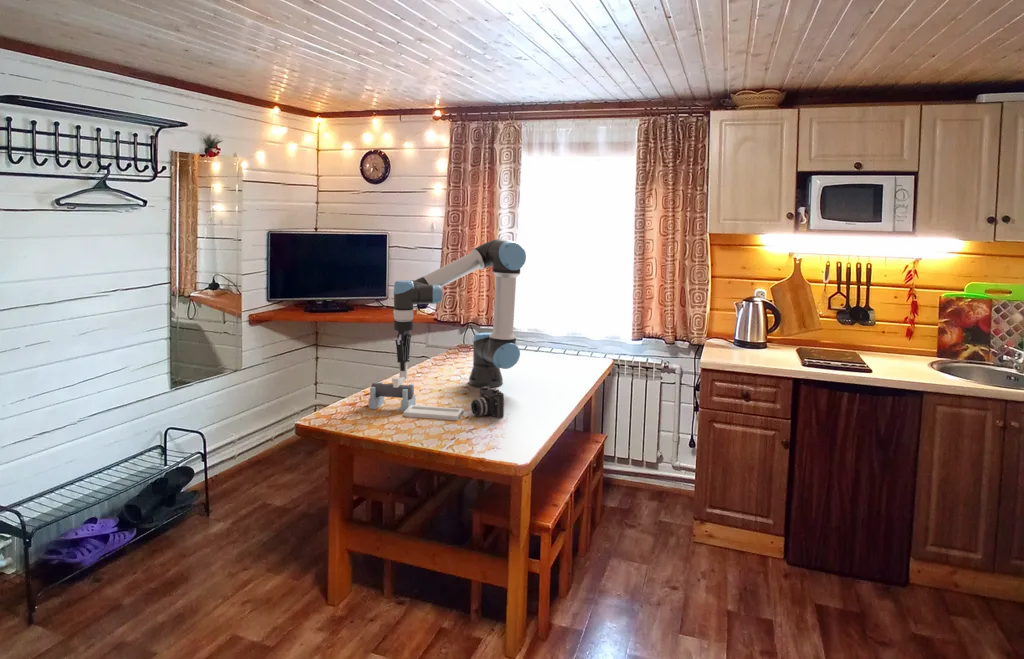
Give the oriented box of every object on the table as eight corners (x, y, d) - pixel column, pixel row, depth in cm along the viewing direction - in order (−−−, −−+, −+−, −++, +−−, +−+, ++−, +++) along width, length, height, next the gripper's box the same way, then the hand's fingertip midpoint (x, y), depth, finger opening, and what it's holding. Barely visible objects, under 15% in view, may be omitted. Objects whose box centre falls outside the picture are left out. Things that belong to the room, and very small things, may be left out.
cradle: (415, 404, 278) (415, 384, 277) (408, 411, 269) (408, 390, 267) (377, 401, 280) (376, 381, 279) (368, 408, 271) (368, 387, 270)
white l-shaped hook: (406, 381, 277) (406, 372, 276) (398, 387, 267) (398, 378, 266) (400, 380, 277) (400, 372, 277) (392, 387, 267) (392, 378, 267)
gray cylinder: (413, 396, 275) (413, 384, 274) (410, 400, 270) (410, 387, 269) (375, 393, 278) (374, 381, 277) (370, 397, 273) (370, 384, 272)
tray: (463, 412, 269) (463, 408, 269) (457, 420, 260) (457, 416, 260) (411, 408, 272) (411, 405, 272) (403, 416, 263) (403, 412, 263)
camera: (463, 411, 272) (464, 386, 270) (487, 407, 277) (488, 383, 276) (482, 421, 260) (482, 395, 258) (506, 417, 266) (507, 391, 264)
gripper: (399, 316, 280) (399, 373, 285) (388, 322, 268) (388, 381, 272) (417, 317, 279) (417, 374, 283) (407, 323, 266) (407, 382, 271)
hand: (403, 378), depth 278 cm, fingers closed
